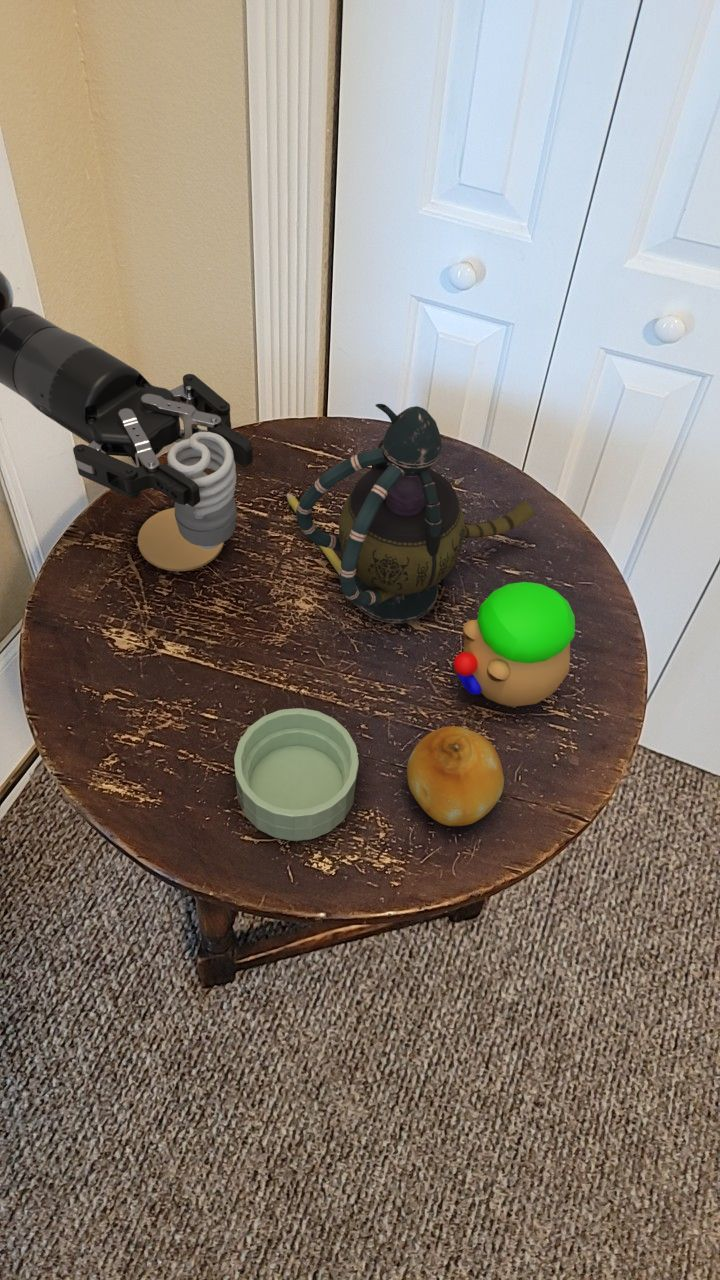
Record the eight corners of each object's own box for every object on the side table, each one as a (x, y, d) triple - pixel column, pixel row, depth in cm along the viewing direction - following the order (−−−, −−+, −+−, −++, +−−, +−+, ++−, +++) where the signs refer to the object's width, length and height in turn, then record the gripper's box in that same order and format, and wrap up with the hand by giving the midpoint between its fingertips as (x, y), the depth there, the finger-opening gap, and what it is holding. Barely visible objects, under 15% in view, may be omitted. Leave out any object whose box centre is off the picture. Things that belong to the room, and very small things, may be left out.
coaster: (154, 582, 94) (154, 579, 94) (126, 523, 99) (126, 520, 98) (237, 555, 97) (237, 553, 96) (206, 500, 102) (206, 497, 101)
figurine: (525, 632, 93) (552, 550, 83) (576, 707, 87) (610, 629, 78) (424, 665, 90) (439, 583, 80) (470, 745, 84) (491, 668, 75)
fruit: (372, 781, 79) (426, 760, 72) (421, 720, 84) (476, 696, 77) (435, 850, 80) (493, 836, 73) (480, 786, 85) (538, 767, 78)
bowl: (265, 862, 76) (263, 835, 72) (219, 763, 82) (216, 733, 78) (375, 815, 80) (379, 786, 76) (324, 723, 85) (326, 692, 81)
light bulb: (237, 570, 83) (230, 469, 73) (173, 567, 82) (158, 465, 73) (243, 524, 86) (237, 422, 76) (182, 521, 86) (169, 418, 76)
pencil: (289, 492, 103) (289, 485, 102) (349, 577, 96) (350, 571, 95) (281, 495, 103) (280, 488, 102) (341, 580, 95) (341, 574, 95)
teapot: (289, 576, 95) (288, 391, 77) (493, 505, 104) (535, 322, 85) (343, 662, 89) (356, 482, 71) (555, 578, 97) (615, 398, 79)
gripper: (4, 390, 74) (154, 489, 69) (136, 314, 82) (282, 397, 76) (25, 461, 80) (165, 557, 75) (146, 384, 88) (282, 466, 82)
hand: (223, 476), depth 75 cm, fingers closed on light bulb, 5 cm apart
